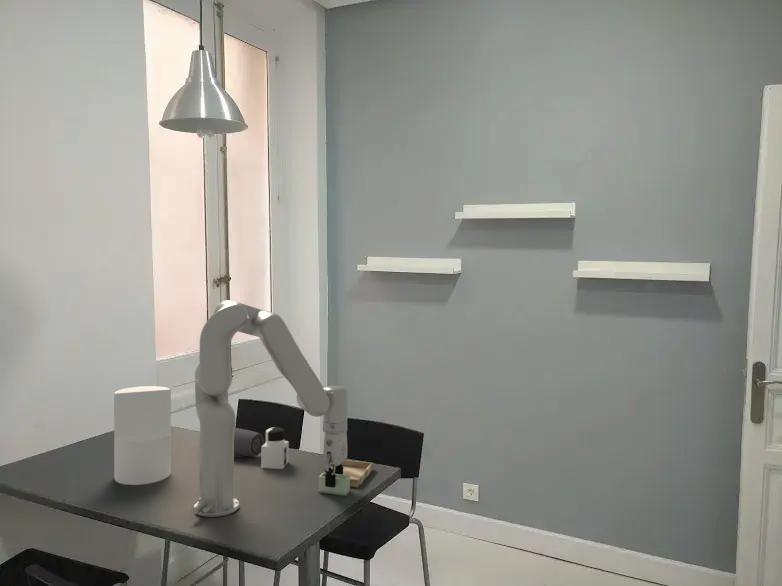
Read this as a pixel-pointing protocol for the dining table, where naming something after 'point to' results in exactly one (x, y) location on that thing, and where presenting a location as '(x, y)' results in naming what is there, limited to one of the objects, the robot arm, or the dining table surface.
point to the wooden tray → (357, 471)
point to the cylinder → (142, 435)
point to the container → (275, 449)
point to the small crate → (339, 489)
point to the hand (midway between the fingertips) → (334, 482)
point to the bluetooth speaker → (247, 443)
